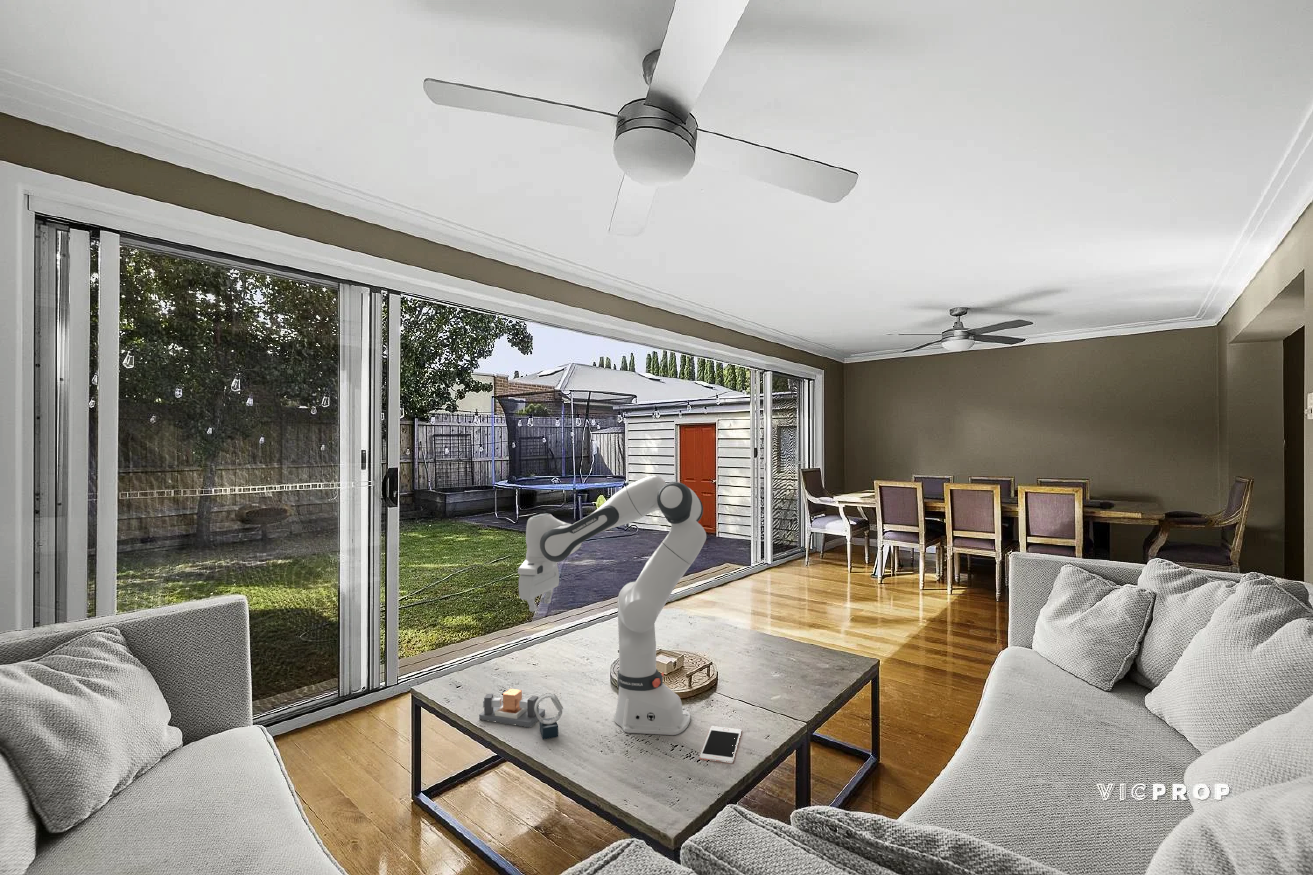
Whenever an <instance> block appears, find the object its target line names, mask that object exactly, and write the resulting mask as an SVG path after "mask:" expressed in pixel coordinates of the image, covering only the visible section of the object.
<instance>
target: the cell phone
mask: <svg viewBox="0 0 1313 875" xmlns="http://www.w3.org/2000/svg"><path fill="white" fill-rule="evenodd" d="M741 731H742V732H743V730H742V729H740V728H732V727H724V726H716V725H711V726H710V729H709V731H708V733H707V736H706V738H705V741H704V743H703V747H702V748H701V751H700V754H699V759H700V760H701V759H704V760H703V761H707V760H716V761H726V762H727V761H728V762H732V761H733V760H732V759H734V757H735V758H736V756H735V755H733V754H734V753H733V754H732V752H736V750H737V751H738V748H737V746H735V745H738V743H739V744H740V741H739V738H740V739H741V737H742V734H741ZM740 736H741V737H740ZM734 738H735V739H734ZM732 745H733V746H732ZM738 746H739V745H738ZM736 753H737V752H736ZM734 760H735V759H734Z"/></svg>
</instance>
